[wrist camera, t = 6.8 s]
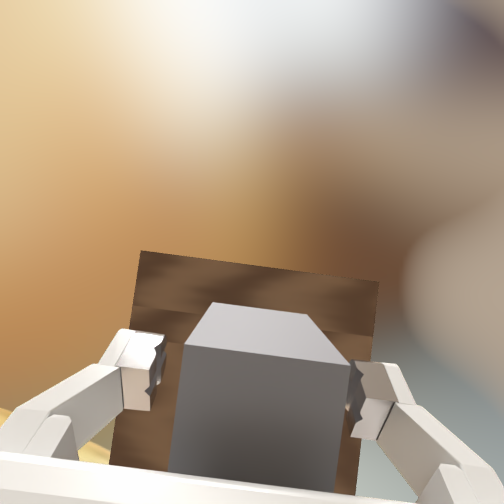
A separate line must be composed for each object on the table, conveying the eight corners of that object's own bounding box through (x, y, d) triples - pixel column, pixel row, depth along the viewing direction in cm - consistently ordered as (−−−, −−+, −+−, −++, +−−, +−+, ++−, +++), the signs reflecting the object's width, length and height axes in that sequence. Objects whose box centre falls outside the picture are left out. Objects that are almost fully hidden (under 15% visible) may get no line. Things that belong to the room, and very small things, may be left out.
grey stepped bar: (330, 510, 8) (351, 365, 8) (165, 489, 8) (184, 343, 8) (276, 334, 24) (282, 286, 24) (221, 327, 24) (228, 279, 24)
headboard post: (54, 826, 17) (140, 250, 19) (124, 622, 27) (177, 256, 29) (314, 856, 18) (379, 281, 19) (290, 643, 28) (333, 277, 29)
